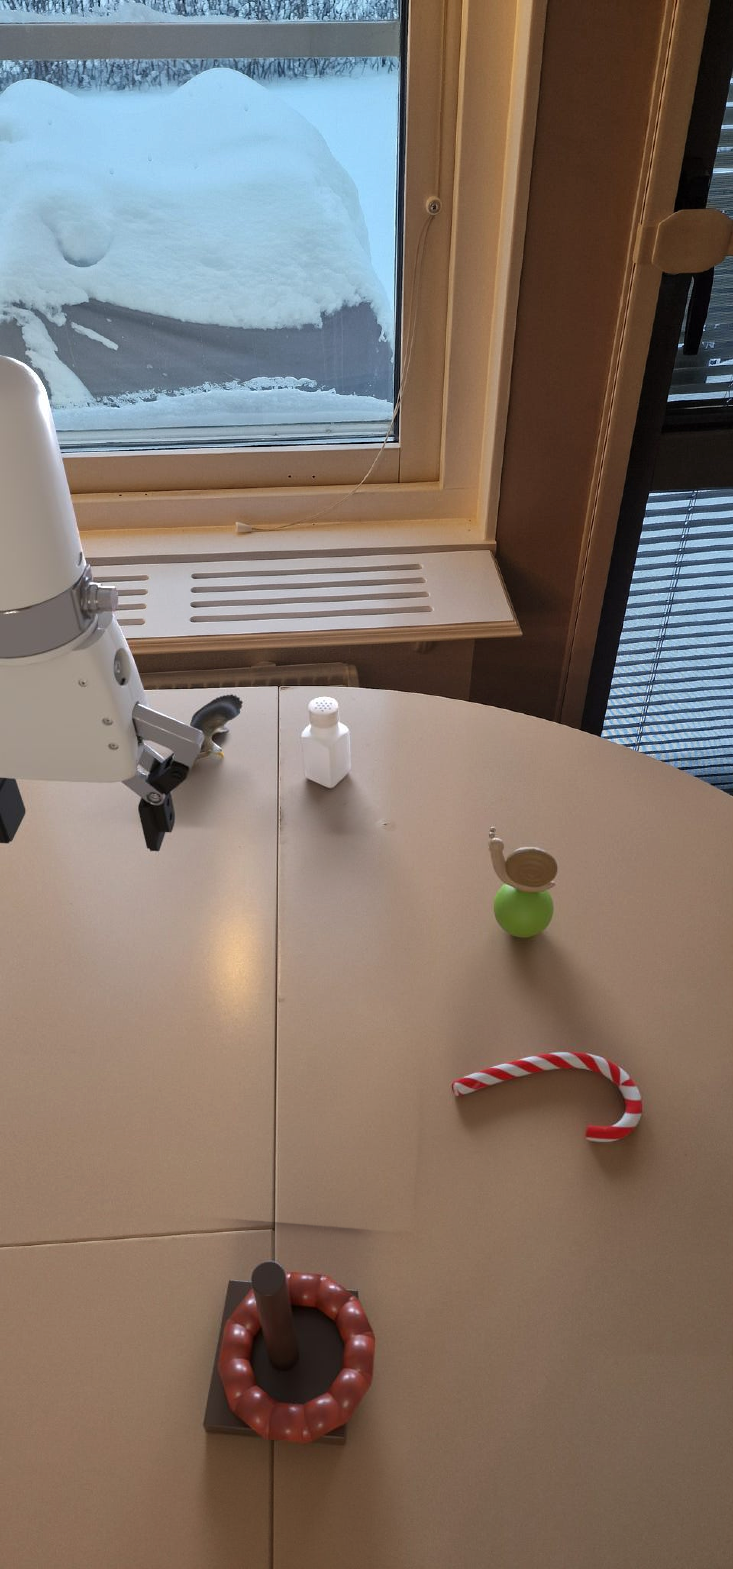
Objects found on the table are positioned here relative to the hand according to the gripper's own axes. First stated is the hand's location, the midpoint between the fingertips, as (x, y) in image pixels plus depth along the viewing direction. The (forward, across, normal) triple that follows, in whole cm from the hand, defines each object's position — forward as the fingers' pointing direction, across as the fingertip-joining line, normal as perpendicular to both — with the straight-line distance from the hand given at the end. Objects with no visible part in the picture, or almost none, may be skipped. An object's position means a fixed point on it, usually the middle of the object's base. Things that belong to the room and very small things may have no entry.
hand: (86, 831), depth 67 cm
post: (+28, -14, +21) cm, 38 cm away
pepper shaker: (+28, -10, -38) cm, 49 cm away
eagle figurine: (+28, +4, -41) cm, 50 cm away
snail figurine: (+28, -30, -18) cm, 45 cm away
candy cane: (+28, -32, 0) cm, 43 cm away
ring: (+26, -15, +21) cm, 36 cm away
